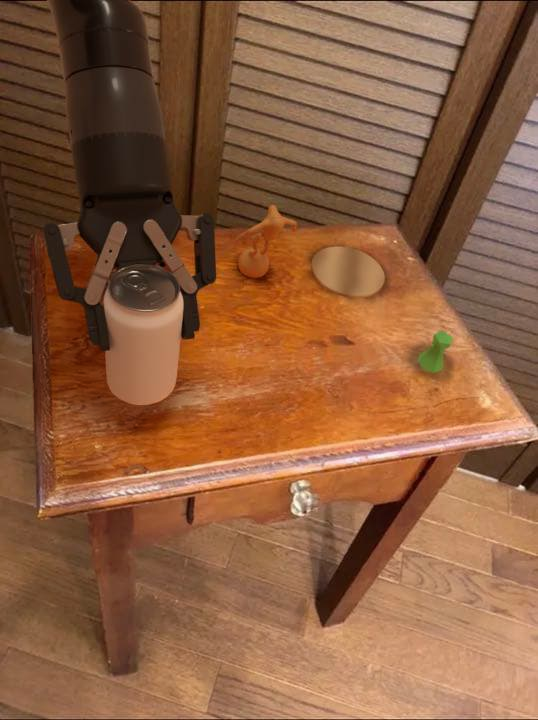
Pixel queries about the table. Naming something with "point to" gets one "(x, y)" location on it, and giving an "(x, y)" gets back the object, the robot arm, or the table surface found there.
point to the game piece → (435, 352)
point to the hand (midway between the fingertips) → (147, 343)
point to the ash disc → (347, 272)
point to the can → (143, 333)
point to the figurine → (255, 259)
